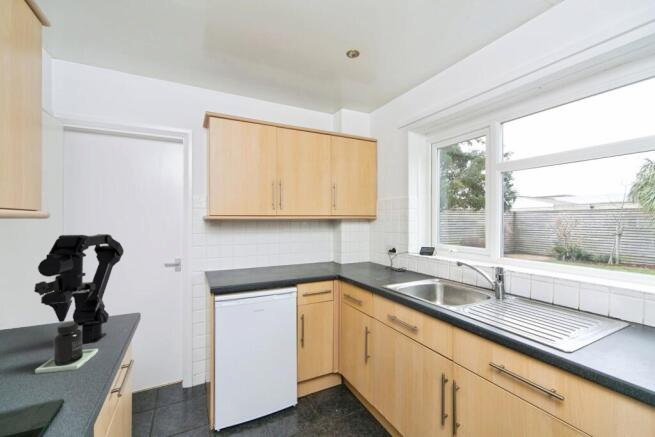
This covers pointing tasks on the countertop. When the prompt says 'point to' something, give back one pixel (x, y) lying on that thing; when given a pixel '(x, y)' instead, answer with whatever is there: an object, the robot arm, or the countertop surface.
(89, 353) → the sage tray
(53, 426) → the countertop surface
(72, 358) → the supplement bottle
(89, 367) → the countertop surface
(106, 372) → the countertop surface
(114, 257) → the robot arm
